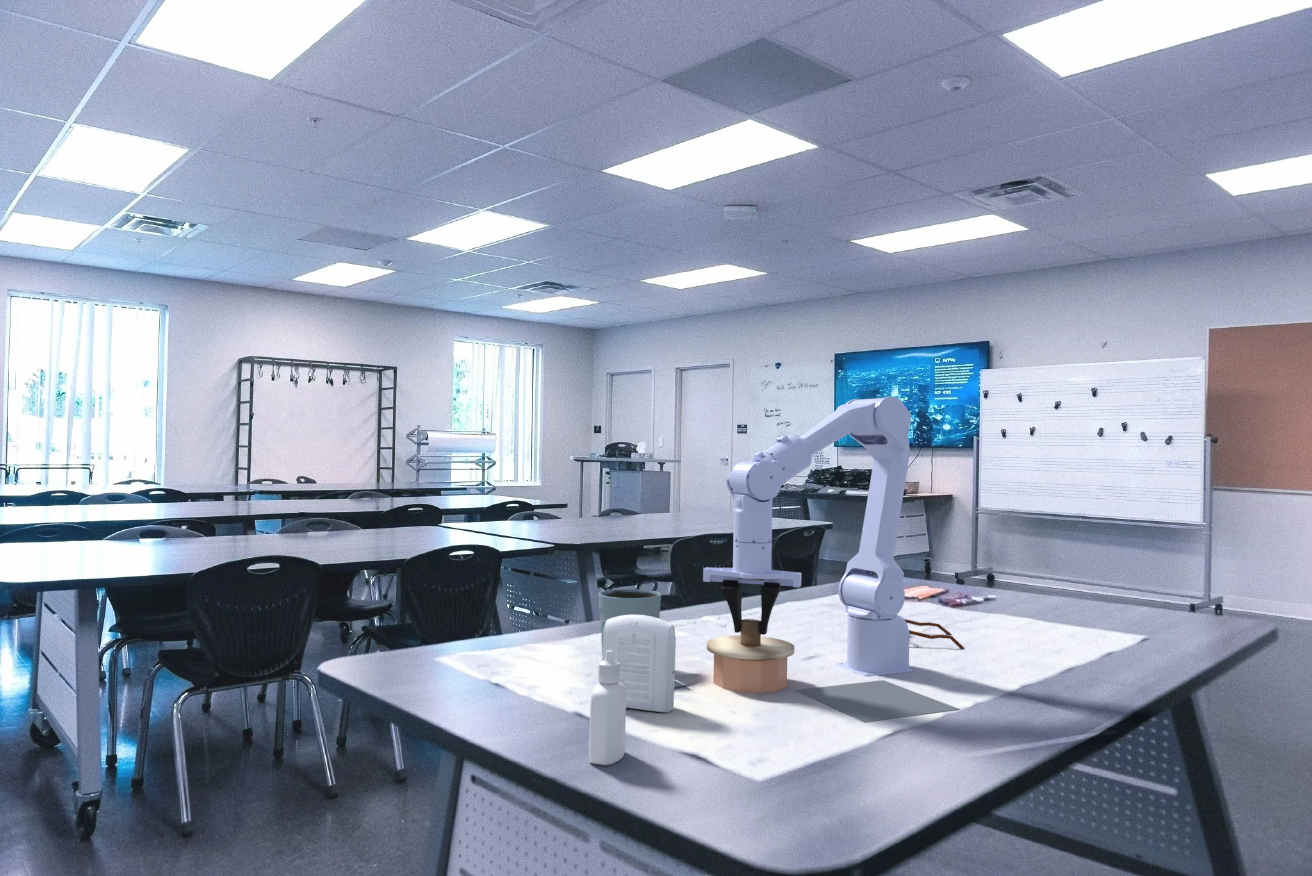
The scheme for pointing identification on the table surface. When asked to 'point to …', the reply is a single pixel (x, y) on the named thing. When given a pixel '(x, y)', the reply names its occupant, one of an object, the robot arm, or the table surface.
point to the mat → (876, 700)
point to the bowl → (750, 674)
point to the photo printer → (643, 659)
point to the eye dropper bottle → (607, 714)
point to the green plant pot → (627, 604)
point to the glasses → (933, 635)
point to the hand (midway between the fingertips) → (750, 632)
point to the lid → (750, 644)
